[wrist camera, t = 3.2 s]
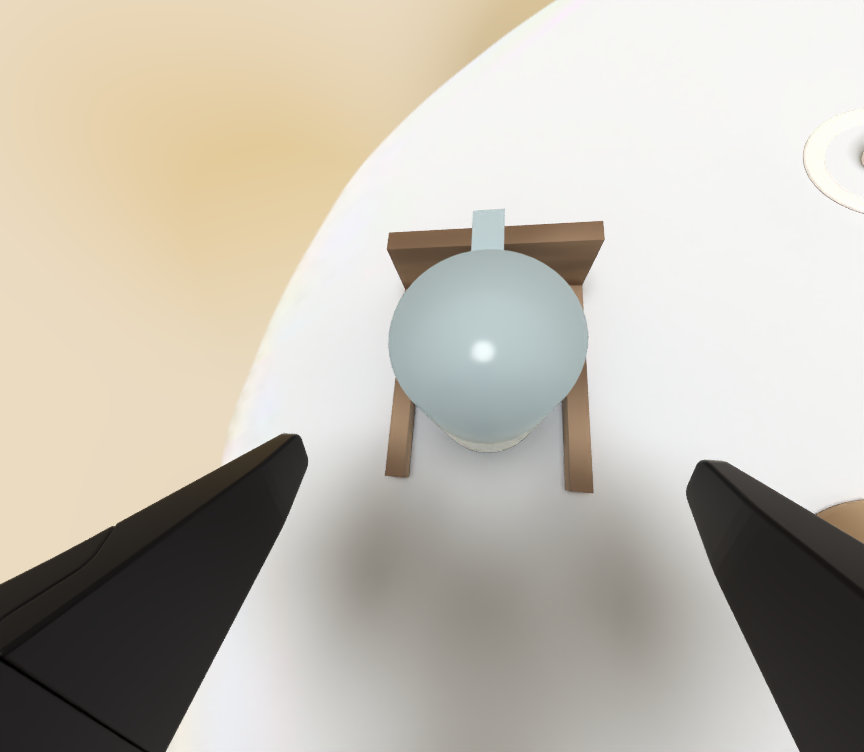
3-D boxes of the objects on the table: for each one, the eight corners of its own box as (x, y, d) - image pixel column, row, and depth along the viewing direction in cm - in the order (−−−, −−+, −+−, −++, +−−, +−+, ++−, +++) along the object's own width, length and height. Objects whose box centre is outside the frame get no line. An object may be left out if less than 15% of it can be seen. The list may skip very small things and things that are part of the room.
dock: (586, 491, 17) (625, 499, 12) (391, 475, 18) (357, 476, 14) (575, 281, 20) (603, 221, 15) (411, 285, 22) (389, 232, 17)
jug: (540, 456, 17) (594, 438, 8) (432, 448, 18) (377, 426, 9) (538, 307, 20) (578, 169, 11) (442, 308, 21) (406, 183, 12)
